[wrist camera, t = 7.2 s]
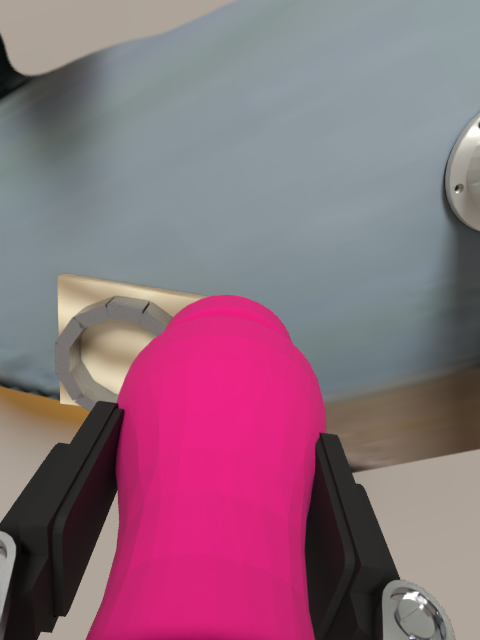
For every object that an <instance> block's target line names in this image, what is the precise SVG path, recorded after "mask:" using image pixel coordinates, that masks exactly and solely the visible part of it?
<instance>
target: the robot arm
mask: <svg viewBox="0 0 480 640" xmlns="http://www.w3.org/2000/svg"><path fill="white" fill-rule="evenodd" d="M478 124H479V128H478ZM455 187H456V190H455ZM445 188H446V193H447V198H448V202H449V204H450V206H451V208H452V211H453V212H454V213H455V215H456V216H457V217H458V219H459V220H461V221H462V222H463V223H464V224H465V225H467V226H468V227H470V228H472V229H474V230H476V231H480V112H479V113H478V114H477V115H476V116H475V117H474V118H473V119H472V120H471V121H470V122H469V123H468V125H467V126H466V127H465V129H464V130H463V131H462V133H461V134H460V136H459V137H458V139H457V141H456V143H455V145H454V147H453V149H452V152H451V154H450V157H449V160H448V164H447V169H446V175H445ZM123 416H124V409H119V405H118V403H113V402H106V401H98V402H97V403H96V404H95V406H94V407H93V409H92V410H91V412H90V413H89V415H88V417H87V418H86V420H85V421H84V423H83V424H82V426H81V427H80V429H79V430H78V432H77V433H76V435H75V437H74V438H73V440H72V441H71V443H70V444H64V443H58V444H56V445H55V446H54V447H53V449H52V450H51V451H50V453H49V454H48V456H47V457H46V459H45V460H44V461H43V463H42V464H41V466H40V467H39V469H38V470H37V472H36V473H35V474H34V476H33V477H32V479H31V480H30V481H29V483H28V484H27V486H26V487H25V489H24V490H23V491H22V493H21V494H20V496H19V497H18V499H17V500H16V501H15V503H14V504H13V506H12V507H11V509H10V510H9V511H8V513H7V514H6V516H5V517H4V519H3V520H2V521H1V523H0V640H37V639H38V637H39V635H40V632H50V633H52V631H53V629H54V626H55V624H56V621H57V619H58V617H59V616H64V617H65V616H66V615H67V613H68V612H69V609H70V607H71V605H72V602H73V600H74V597H75V595H76V592H77V590H78V587H79V585H80V582H81V580H82V577H83V575H84V572H85V570H86V567H87V565H88V562H89V560H90V557H91V555H92V552H93V550H94V547H95V545H96V542H97V540H98V537H99V535H100V532H101V530H102V527H103V525H104V522H105V520H106V517H107V515H108V512H109V510H110V507H111V505H112V502H113V500H114V497H115V495H116V492H117V490H118V488H117V480H116V472H115V464H116V452H117V446H118V441H119V435H120V430H121V425H122V421H123ZM319 436H320V438H318V440H317V442H316V444H315V475H314V481H313V487H312V494H311V502H310V506H309V511H308V515H307V521H306V536H305V551H304V552H305V565H306V578H307V591H308V604H309V613H310V618H311V623H312V627H313V632H314V637H315V640H456V639H455V634H454V630H453V627H452V624H451V621H450V619H449V617H448V616H447V614H446V613H445V610H444V609H443V607H442V606H441V605H440V604H439V603H438V601H437V600H436V599H435V598H434V597H433V596H432V595H431V594H430V593H428V592H427V591H426V590H425V589H424V588H422V587H420V586H418V585H417V584H415V583H412V582H409V581H406V580H400V577H399V575H398V572H397V569H396V567H395V564H394V562H393V559H392V557H391V554H390V552H389V549H388V547H387V544H386V541H385V539H384V536H383V534H382V531H381V529H380V526H379V524H378V521H377V519H376V516H375V514H374V511H373V508H372V506H371V504H370V501H369V498H368V496H367V493H366V491H365V489H364V487H363V486H362V485H361V484H356V483H355V480H354V478H353V475H352V472H351V469H350V467H349V464H348V461H347V459H346V456H345V453H344V451H343V448H342V445H341V442H340V440H339V437H338V436H337V435H334V434H327V433H320V432H319Z"/></svg>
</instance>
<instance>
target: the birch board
mask: <svg viewBox="0 0 480 640" xmlns="http://www.w3.org/2000/svg"><path fill="white" fill-rule="evenodd" d="M57 279H58V321H59V336H60V334H61V333H62V331H63V330H64V329H65V327H66V326H67V324H68V323H69V321H70V320H71V319H72V317H74V316H75V315H76V314H77V313H78V312H80V311H81V310H82V309H83V308H85V307H86V306H88V305H91V304H94V303H96V302H99V301H102V300H104V299H107V298H110V297H112V296H115V297H116V296H117V295H118V296H124V297H130V298H137V299H143V300H149V301H150V303H151V302H153V303H155V304H156V305H157V306H159V307H160V308H162V309H163V310H164V311H166V312H167V313H168V314H170V315H171V316H173V317H174V316H175V315H176V314H177V313H178V312H179V311H180V310H182V309H183V308H184V307H186V306H187V305H189V304H191V303H194V302H196V301H198V300H200V299H203V298H206V297H208V296H202V295H196V294H189V293H183V292H177V291H171V290H165V289H158V288H152V287H146V286H140V285H134V284H127V283H121V282H115V281H109V280H102V279H96V278H90V277H84V276H78V275H71V274H65V273H64V274H62V275H60V276H58V277H57ZM149 305H150V304H149ZM156 337H157V336H156V335H154V334H153V333H152V332H150V331H149V330H147V329H146V328H145V327H143V326H142V325H140V324H139V323H132V322H126V321H120V320H113V319H108V320H105V321H102V322H100V323H97V324H94V325H92V326H89V327H88V328H87V329H86V331H85V332H84V334H83V335H82V336H81V360H82V361H83V363H84V365H85V366H86V368H87V370H88V371H89V373H90V374H91V376H92V378H93V379H94V381H96V382H98V383H99V384H101V385H102V386H104V387H105V388H107V389H109V390H110V391H112V392H113V393H115V394H119V392H120V389H121V387H122V384H123V382H124V379H125V377H126V375H127V372H128V370H129V368H130V366H131V364H132V363H133V361H134V360H135V358H136V357H137V356H138V354H139V353H140V352H141V351H142V350H143V349H144V348H145V347H146V346H147V345H148V344H149V343H150V342H151V341H152V340H153V339H154V338H156ZM75 401H76V400H72V399H71V397H70V395H69V394H68V392H67V391H66V389H65V388H64V386H63V385H62V383H61V382H60V403H61V404H68V405H76V406H80V405H78V404H77V403H75Z"/></svg>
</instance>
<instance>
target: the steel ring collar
mask: <svg viewBox="0 0 480 640" xmlns="http://www.w3.org/2000/svg"><path fill="white" fill-rule="evenodd" d="M149 304H150V305H149ZM172 318H173V316H171V315H170V314H168V313H167V312H166V311H164V310H163V309H162V308H160V307H159V306H157V305H156V304H155V303H153V302H151V303H150V301H149V300H143V299H137V298H130V297H124V296H118V295H117V296H116V297H115V296H112V297H110V298H107V299H104V300H102V301H99V302H96V303H94V304H91V305H88V306H86V307H85V308H83V309H82V310H81V311H80V312H78V313H77V314H76V315H75V316H74V317H72V319H71V320H70V321H69V323H68V324H67V326H66V327H65V329H64V330H63V331H62V333H61V334H60V336H59V337H58V339H57V340H56V341H55V342H56V343H55V373H57V374H56V375H57V377H58V378H59V380H60V382H61V383H62V385H63V386H64V388H65V389H66V391H67V392H68V394H69V395H70V397H71V399H72V400H76V401H75V403H77V404H78V405H80V406H82V407H83V408H85V409H86V410H88V411H90V412H91V410H92V409H93V407H94V406H95V404H96V403H97V402H98V401H106V402H113V403H117V399H118V395H119V394H115V393H113V392H112V391H110V390H109V389H107V388H105V387H104V386H102V385H101V384H99V383H98V382H96V381H94V379H93V378H92V376H91V374H90V373H89V371H88V370H87V368H86V366H85V365H84V363H83V361H82V360H81V336H82V335H83V334H84V332H85V331H86V329H87V328H88V327H89V326H92V325H94V324H97V323H100V322H102V321H105V320H108V319H113V320H120V321H126V322H132V323H139V324H140V325H142V326H143V327H145V328H146V329H147V330H149V331H150V332H152V333H153V334H154V335H156V336H159V335H160V334H162V333H163V332H164V330H165V328H166V327H167V325H168V323H169V322H170V321H171V319H172Z"/></svg>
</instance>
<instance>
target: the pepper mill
mask: <svg viewBox="0 0 480 640" xmlns="http://www.w3.org/2000/svg"><path fill="white" fill-rule="evenodd" d="M117 403H118V405H119V409H124V416H123V421H122V425H121V430H120V435H119V441H118V446H117V452H116V464H115V472H116V480H117V488H118V505H119V506H118V507H119V529H118V539H117V548H116V553H115V557H114V560H113V564H112V568H111V572H110V575H109V578H108V582H107V586H106V589H105V594H104V597H103V600H102V603H101V605H100V608H99V610H98V612H97V615H96V617H95V619H94V621H93V624H92V626H91V629H90V631H89V633H88V635H87V638H86V640H315V637H314V632H313V627H312V623H311V618H310V613H309V604H308V591H307V578H306V565H305V552H304V551H305V536H306V521H307V515H308V511H309V506H310V502H311V494H312V487H313V481H314V475H315V444H316V442H317V440H318V438H320V436H319V432H320V433H326V415H325V407H324V403H323V399H322V394H321V391H320V387H319V383H318V379H317V377H316V375H315V373H314V371H313V369H312V367H311V365H310V364H309V362H308V361H307V359H306V358H305V356H304V355H303V354H302V353H301V352H300V351H299V350H298V349H297V348H296V347H295V346H294V345H293V344H292V341H291V338H290V336H289V333H288V331H287V329H286V327H285V326H284V324H283V323H282V322H281V321H280V319H279V318H278V317H277V316H276V315H275V314H274V313H273V312H272V311H271V310H269V309H268V308H266V307H264V306H263V305H261V304H259V303H257V302H255V301H252V300H250V299H247V298H245V297H240V296H233V295H221V296H211V297H206V298H203V299H200V300H198V301H196V302H194V303H191V304H189V305H187V306H186V307H184V308H183V309H182V310H180V311H179V312H178V313H177V314H176V315H175V316H174V317H173V318H172V319H171V321H170V322H169V323H168V325H167V327H166V328H165V330H164V332H163V333H162V334H160V335H159V336H157V337H156V338H154V339H153V340H152V341H151V342H150V343H149V344H148V345H147V346H146V347H145V348H144V349H143V350H142V351H141V352H140V353H139V354H138V356H137V357H136V358H135V360H134V361H133V363H132V364H131V366H130V368H129V370H128V372H127V375H126V377H125V379H124V382H123V384H122V387H121V389H120V392H119V395H118V399H117Z"/></svg>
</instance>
